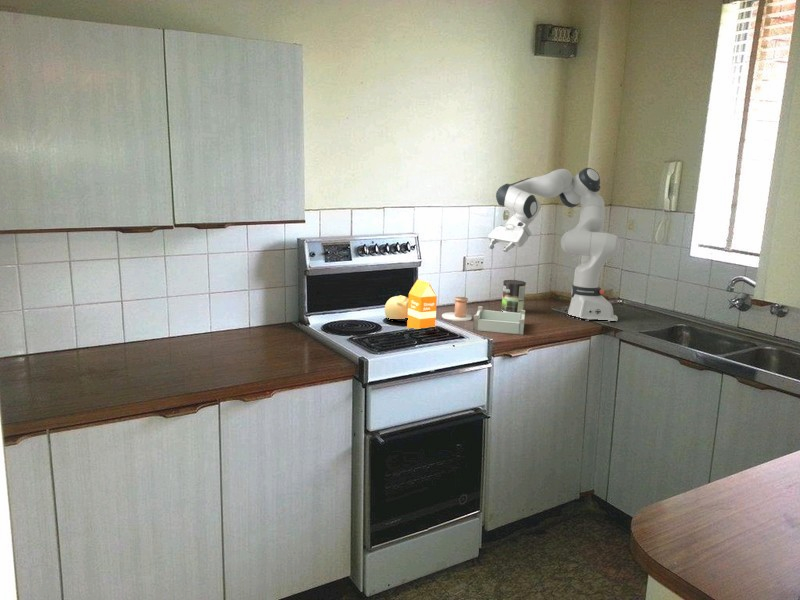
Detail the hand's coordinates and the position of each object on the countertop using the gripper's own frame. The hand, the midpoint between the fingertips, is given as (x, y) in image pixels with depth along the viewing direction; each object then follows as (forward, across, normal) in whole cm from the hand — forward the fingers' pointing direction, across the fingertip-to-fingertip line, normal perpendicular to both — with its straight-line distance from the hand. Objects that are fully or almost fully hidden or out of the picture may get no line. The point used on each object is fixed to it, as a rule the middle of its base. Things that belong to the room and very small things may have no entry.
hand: (497, 249), depth 301 cm
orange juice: (+56, +12, -14) cm, 58 cm away
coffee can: (+12, 0, +30) cm, 32 cm away
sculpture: (+54, -6, -12) cm, 56 cm away
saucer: (+35, 0, +6) cm, 36 cm away
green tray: (+31, +20, +10) cm, 39 cm away
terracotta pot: (+34, +2, +6) cm, 35 cm away
